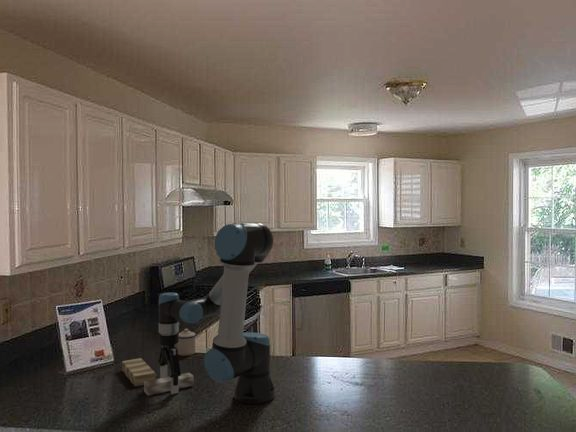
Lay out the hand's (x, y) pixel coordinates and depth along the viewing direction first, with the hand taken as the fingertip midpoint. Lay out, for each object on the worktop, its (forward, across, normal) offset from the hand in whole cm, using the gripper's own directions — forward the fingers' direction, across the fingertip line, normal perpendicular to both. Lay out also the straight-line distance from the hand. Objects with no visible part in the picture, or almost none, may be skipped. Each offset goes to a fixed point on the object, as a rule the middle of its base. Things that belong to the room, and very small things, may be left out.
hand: (169, 387), depth 180 cm
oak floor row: (0, +20, +7) cm, 21 cm away
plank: (0, 0, 0) cm, 1 cm away
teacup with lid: (+1, +41, -20) cm, 45 cm away
